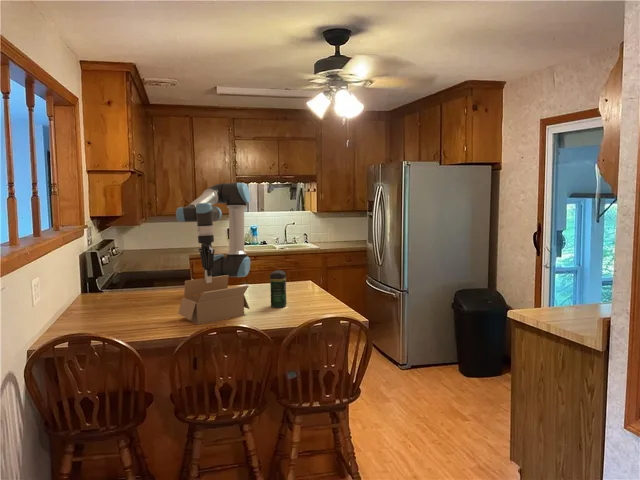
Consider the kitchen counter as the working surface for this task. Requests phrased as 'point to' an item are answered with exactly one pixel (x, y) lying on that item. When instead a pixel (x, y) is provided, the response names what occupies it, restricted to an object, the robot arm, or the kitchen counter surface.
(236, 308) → the carton
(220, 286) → the flap
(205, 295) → the flap
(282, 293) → the coffee jar
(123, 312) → the kitchen counter surface
